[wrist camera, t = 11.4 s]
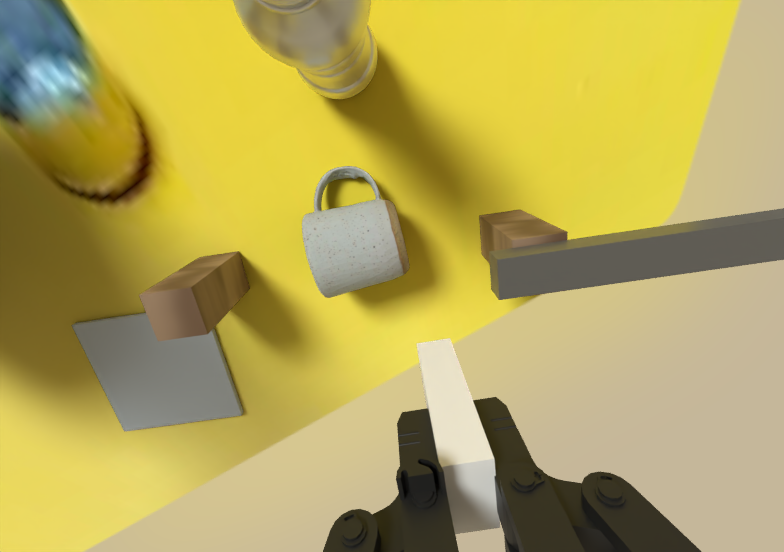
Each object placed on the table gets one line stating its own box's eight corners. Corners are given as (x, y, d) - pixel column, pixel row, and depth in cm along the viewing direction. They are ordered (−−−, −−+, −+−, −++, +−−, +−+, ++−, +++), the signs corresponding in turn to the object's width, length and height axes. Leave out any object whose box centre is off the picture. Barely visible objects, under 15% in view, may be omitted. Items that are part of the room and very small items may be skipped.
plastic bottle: (356, 117, 33) (320, 81, 14) (286, 75, 31) (140, -28, 12) (392, 44, 31) (407, -112, 12) (318, -4, 29) (206, -264, 11)
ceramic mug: (409, 261, 37) (416, 287, 30) (333, 281, 38) (320, 312, 31) (382, 155, 34) (381, 156, 27) (298, 178, 34) (275, 186, 27)
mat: (127, 427, 43) (124, 431, 43) (76, 322, 39) (71, 325, 38) (243, 411, 43) (241, 415, 42) (205, 303, 38) (203, 306, 38)
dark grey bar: (491, 289, 28) (499, 300, 26) (489, 251, 27) (497, 259, 25) (788, 246, 27) (818, 254, 25) (797, 206, 26) (830, 211, 24)
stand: (212, 293, 38) (158, 341, 29) (199, 257, 37) (138, 294, 27) (521, 248, 37) (566, 283, 28) (520, 209, 36) (567, 232, 27)
